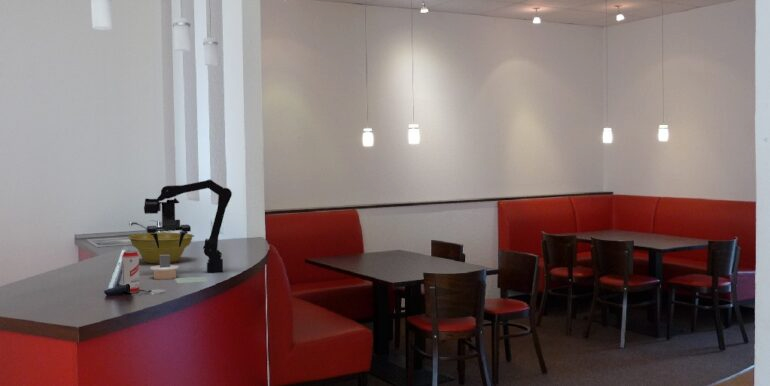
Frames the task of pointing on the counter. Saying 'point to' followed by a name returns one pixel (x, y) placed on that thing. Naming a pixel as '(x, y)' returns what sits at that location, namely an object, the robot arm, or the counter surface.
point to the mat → (191, 280)
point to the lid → (164, 264)
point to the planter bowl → (160, 246)
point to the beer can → (130, 270)
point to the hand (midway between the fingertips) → (169, 247)
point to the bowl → (165, 274)
